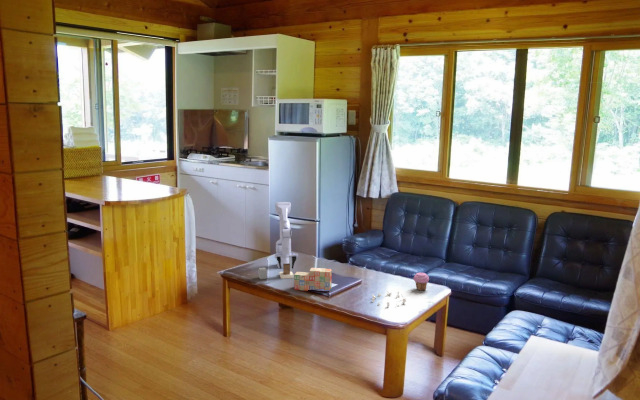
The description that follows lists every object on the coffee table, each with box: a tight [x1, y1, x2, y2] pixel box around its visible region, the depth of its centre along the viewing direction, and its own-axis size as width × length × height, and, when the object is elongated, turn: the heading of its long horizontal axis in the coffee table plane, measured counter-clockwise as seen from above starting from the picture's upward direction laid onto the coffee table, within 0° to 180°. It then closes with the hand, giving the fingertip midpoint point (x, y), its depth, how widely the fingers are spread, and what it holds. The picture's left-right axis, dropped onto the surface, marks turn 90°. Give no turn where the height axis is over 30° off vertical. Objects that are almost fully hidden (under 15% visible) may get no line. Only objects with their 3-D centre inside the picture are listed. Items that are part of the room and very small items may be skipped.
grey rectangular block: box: [258, 267, 268, 280], centre depth 331 cm, size 4×4×6 cm
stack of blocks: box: [293, 267, 333, 292], centre depth 309 cm, size 21×6×12 cm, turn 79°
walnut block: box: [282, 262, 291, 275], centre depth 333 cm, size 4×4×6 cm
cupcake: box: [413, 272, 430, 291], centre depth 310 cm, size 9×9×10 cm
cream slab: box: [279, 270, 295, 280], centre depth 334 cm, size 8×8×2 cm
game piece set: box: [371, 290, 407, 308], centre depth 291 cm, size 19×20×4 cm
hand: (286, 268), depth 334 cm, fingers open, 7 cm apart
